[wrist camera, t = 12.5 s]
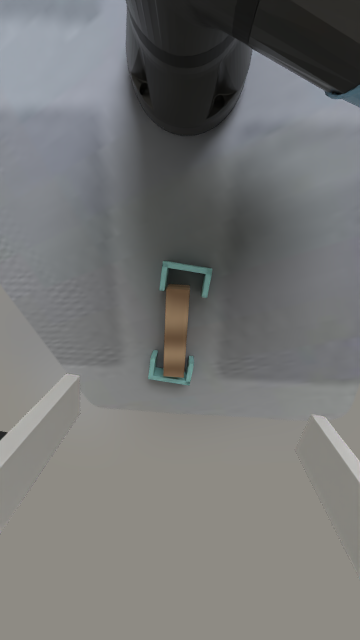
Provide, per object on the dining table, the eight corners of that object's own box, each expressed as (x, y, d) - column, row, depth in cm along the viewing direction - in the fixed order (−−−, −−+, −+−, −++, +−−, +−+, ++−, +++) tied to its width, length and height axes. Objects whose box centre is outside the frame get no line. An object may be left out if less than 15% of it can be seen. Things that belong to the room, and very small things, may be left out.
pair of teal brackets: (165, 260, 35) (162, 261, 32) (210, 268, 35) (212, 269, 32) (151, 370, 41) (148, 378, 38) (189, 376, 41) (189, 385, 38)
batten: (169, 283, 36) (166, 288, 31) (189, 285, 36) (189, 290, 31) (166, 361, 41) (163, 376, 36) (184, 362, 41) (183, 377, 36)
